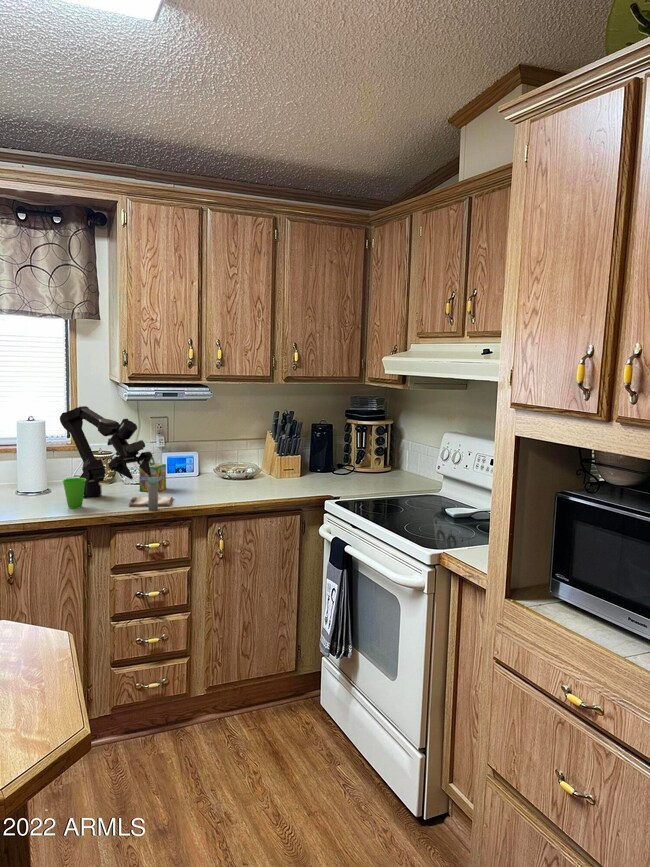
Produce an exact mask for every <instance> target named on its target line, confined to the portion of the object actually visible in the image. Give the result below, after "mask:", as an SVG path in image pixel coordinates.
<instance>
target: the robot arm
mask: <svg viewBox="0 0 650 867" xmlns="http://www.w3.org/2000/svg"><path fill="white" fill-rule="evenodd" d="M83 420H85V421H86V422H88V423H89V424H92V426H94V427H96V428H97V432H98V433H99V434H101V435H102V436H103V437H110V436H111V437H110V438H108V439H107V440H108V441H107V446H112V447H113V448H114V450H115V456H113V457H112V459H111V460H110V461H109V463H108V468H109V470H110V471H113V472H116V473H118V474H120V475H122V476H125V477H126V478H127V479H129V480H133V479H134V476H133V474H132V473H131V471H130V469H129V467H128V466H127V464H132V463H137V465H139V466H138V468H139V467H140V468H141V469H142V470H143V471H144V472H145V473H146V474H147V475H149V476H150V475H151V472H150V467H149V461H150V459H151V458H152V457H154V455H153V453H152V451H143V452H141V453H140V454H139V452H140V451H142V450H144V448H146V444H145V442H144V440H143V439H140V440H138V441H136V442H131V443H129V440H130V439H131V438H132V436H133V435H134V434H135V432H136V431H137V430H138V425H137V424H136V423H135V422H134V421H131V420H129V418H123V419H122V421H121V423H120V422H118V421H117V420H113V419H108V418H106V417H103V416H102V415H100V414H99V413H97V412H95V411H94V410H92V409H90V407H88V406H87V405H84V406H76V407H75V408H73V409H71V410H68V411H65V412H64V411H63V412H62V413H61V414H60V416H59V421H60V424H61V425H62V427H63V429H65V430H66V431H67V432H68V433H70V435H71V437H72V440H73V441H74V444H75V447H76V449H77V452H78V453H79V455H80V458H81V460H82V474H81V475H80V476H79V478H85V479H86V482H85V489H84V496H83V499H86V498H87V499H89V498H90V499H91V498H92V497H99V496H100V497H101V495H102V491H103V490H102V487H103V486H102V484H101V482H104V479H105V476H106V466H105V465H104V463H103V459H101V458H100V459H97V458H96V457H95V455H94V453H93V451H92V449H91V448H92V447H91V446H90V444H89V442H88V440H87V437H86V434H85V433H84V430H83V425H84V424H83V423H84V421H83ZM137 455H139V456H137ZM100 497H99V498H100Z"/></svg>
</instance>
